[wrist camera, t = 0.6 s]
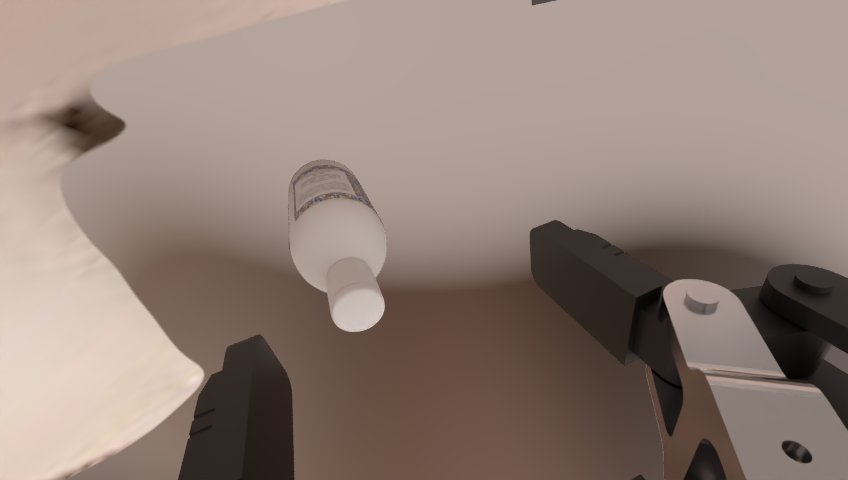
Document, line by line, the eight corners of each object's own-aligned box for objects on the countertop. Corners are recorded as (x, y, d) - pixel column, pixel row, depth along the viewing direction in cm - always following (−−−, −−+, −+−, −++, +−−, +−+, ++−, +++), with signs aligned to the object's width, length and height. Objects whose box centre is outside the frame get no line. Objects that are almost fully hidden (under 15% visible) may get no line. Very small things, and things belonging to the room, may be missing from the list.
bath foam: (349, 228, 38) (397, 362, 21) (282, 215, 35) (278, 360, 18) (367, 168, 36) (437, 266, 19) (297, 149, 33) (307, 244, 16)
